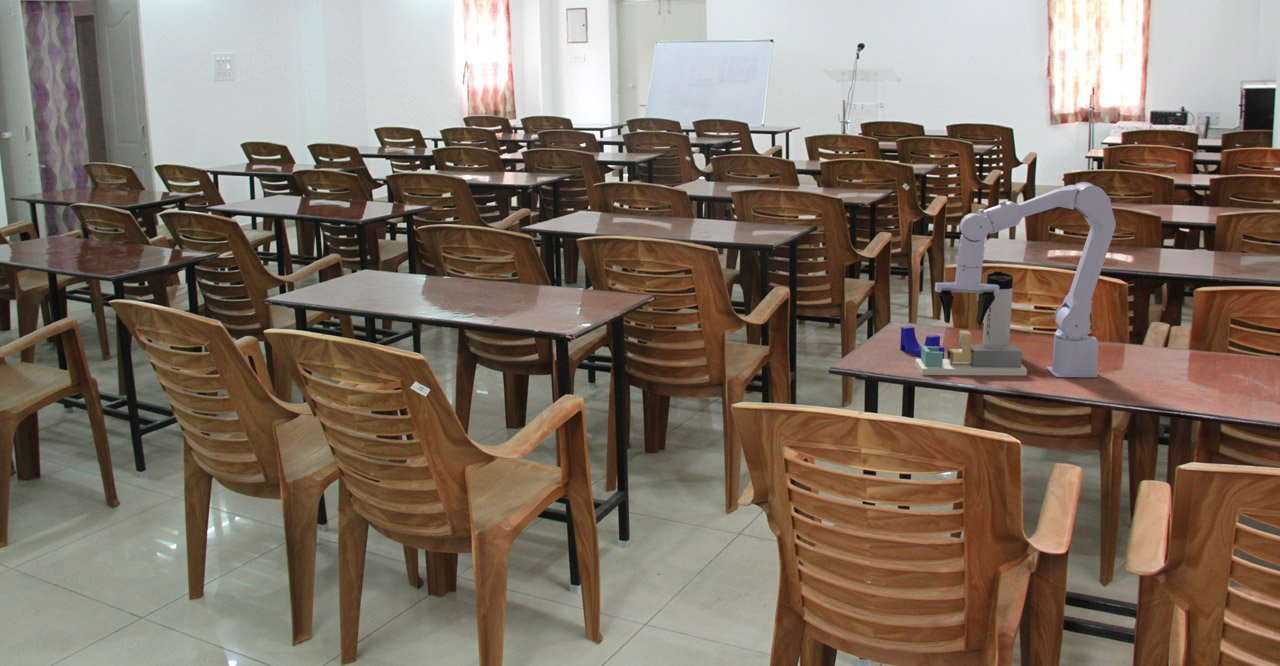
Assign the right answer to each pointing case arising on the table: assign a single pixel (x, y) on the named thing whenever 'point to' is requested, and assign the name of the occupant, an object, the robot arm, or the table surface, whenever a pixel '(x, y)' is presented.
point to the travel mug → (999, 311)
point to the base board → (967, 369)
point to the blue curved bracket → (912, 345)
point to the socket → (931, 356)
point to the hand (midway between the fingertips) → (962, 322)
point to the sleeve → (996, 356)
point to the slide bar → (962, 349)
